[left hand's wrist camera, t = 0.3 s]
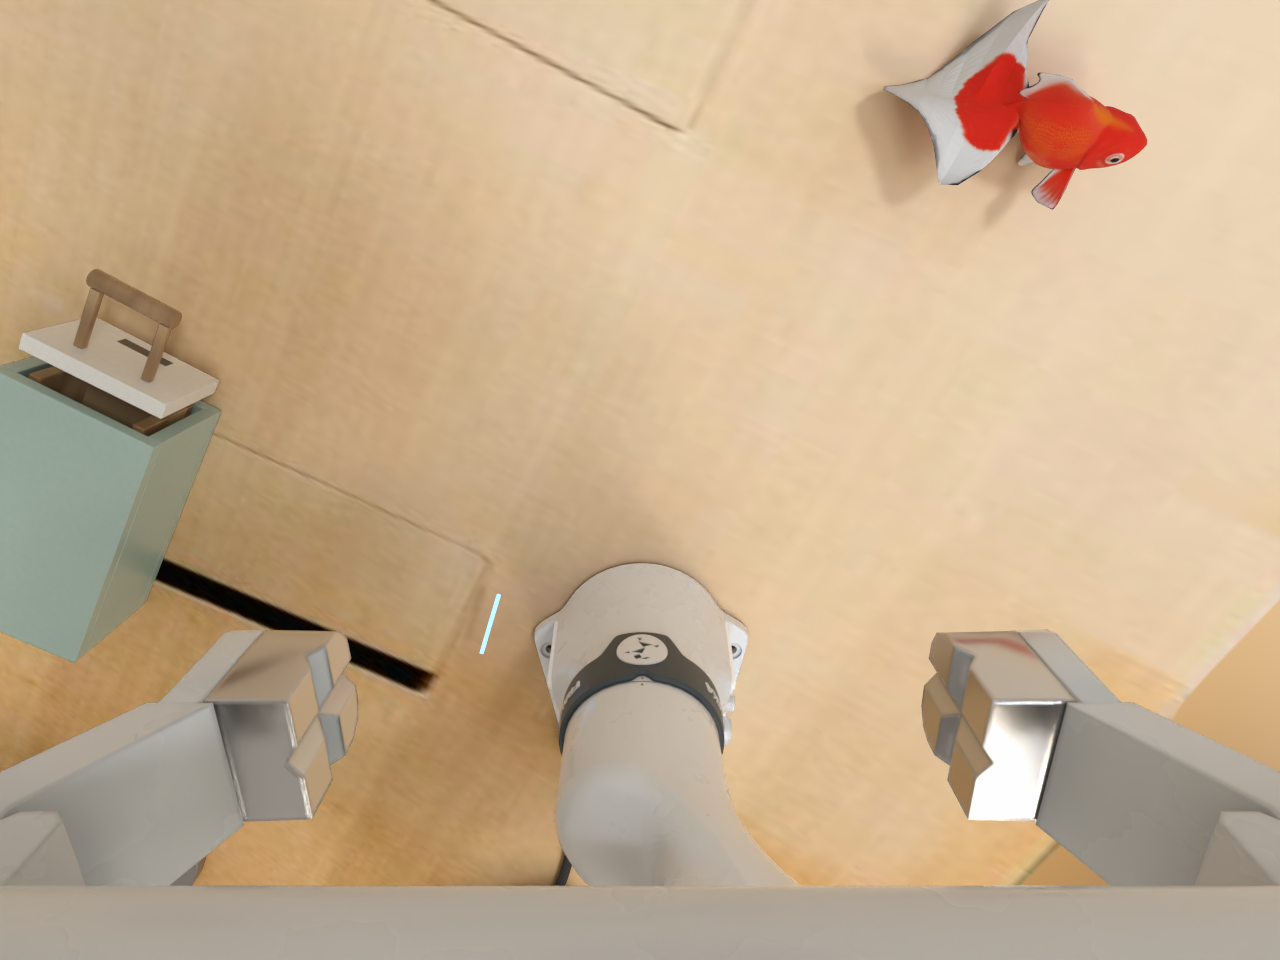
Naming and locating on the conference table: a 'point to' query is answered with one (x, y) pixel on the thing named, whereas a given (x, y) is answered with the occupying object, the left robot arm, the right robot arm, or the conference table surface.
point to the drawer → (119, 362)
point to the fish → (1017, 113)
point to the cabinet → (84, 511)
